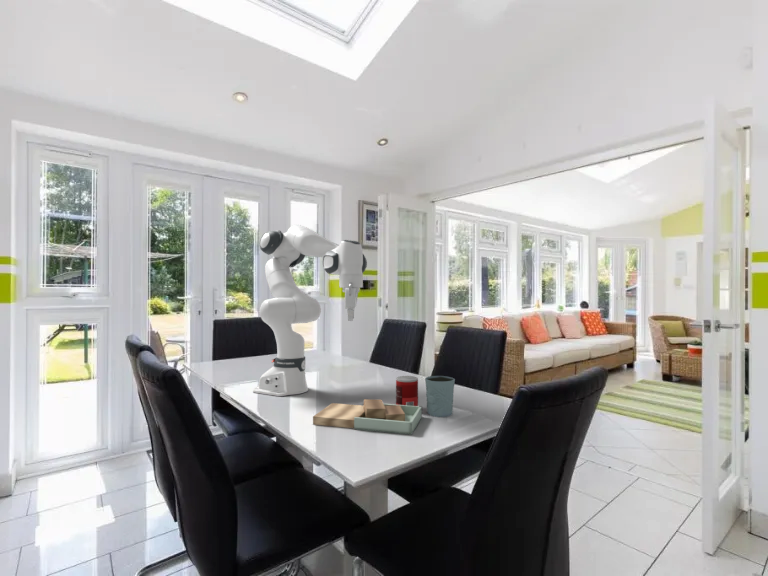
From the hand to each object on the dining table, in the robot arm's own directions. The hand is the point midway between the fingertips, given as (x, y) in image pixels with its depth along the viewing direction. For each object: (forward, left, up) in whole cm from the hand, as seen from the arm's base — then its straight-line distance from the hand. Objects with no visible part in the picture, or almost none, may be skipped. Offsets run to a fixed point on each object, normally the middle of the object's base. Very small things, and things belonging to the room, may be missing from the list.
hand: (350, 319), depth 158 cm
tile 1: (+14, -18, -29) cm, 37 cm away
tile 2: (+20, -17, -30) cm, 40 cm away
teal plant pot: (+34, -4, -31) cm, 46 cm away
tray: (+20, -19, -31) cm, 41 cm away
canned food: (+22, -2, -31) cm, 38 cm away
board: (+4, -19, -31) cm, 37 cm away
